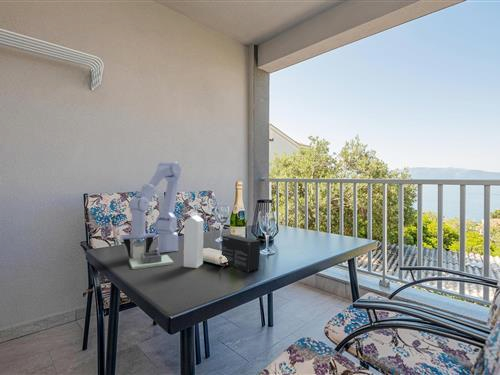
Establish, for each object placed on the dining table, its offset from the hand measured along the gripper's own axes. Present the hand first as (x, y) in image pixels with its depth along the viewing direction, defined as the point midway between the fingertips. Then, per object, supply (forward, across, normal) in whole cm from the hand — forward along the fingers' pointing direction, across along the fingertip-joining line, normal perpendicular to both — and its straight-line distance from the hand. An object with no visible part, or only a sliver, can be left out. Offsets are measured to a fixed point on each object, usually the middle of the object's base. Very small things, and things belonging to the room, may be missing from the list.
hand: (138, 255), depth 123 cm
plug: (+2, 0, 0) cm, 2 cm away
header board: (+2, +4, -8) cm, 9 cm away
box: (+2, +36, -28) cm, 46 cm away
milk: (+2, +19, -19) cm, 27 cm away
